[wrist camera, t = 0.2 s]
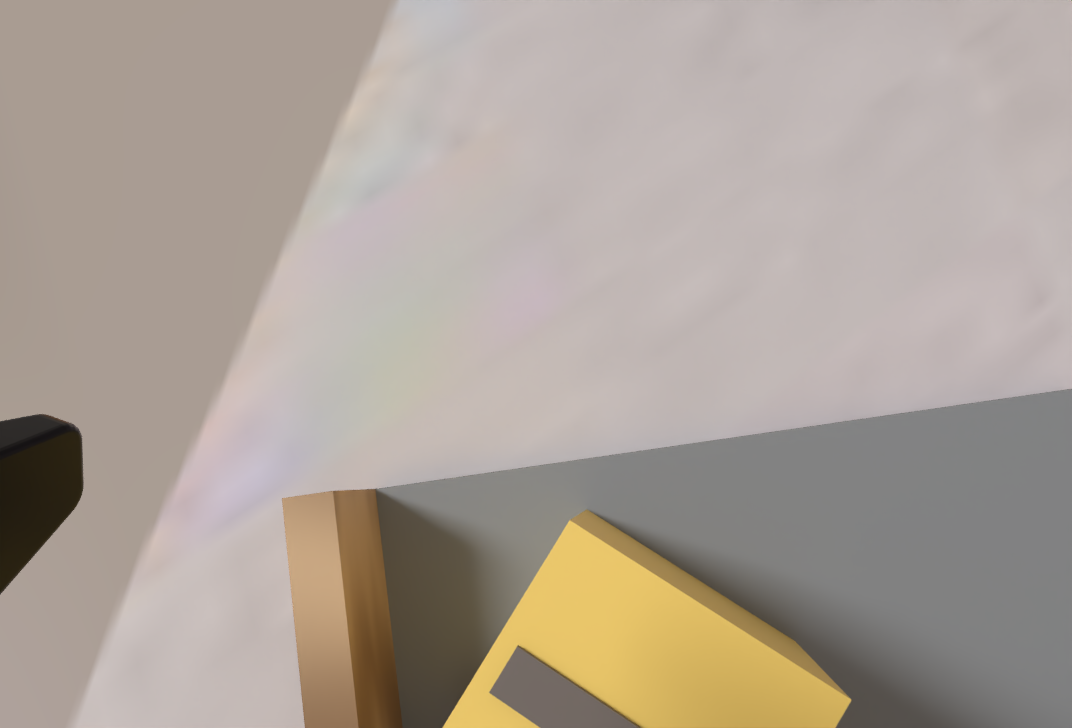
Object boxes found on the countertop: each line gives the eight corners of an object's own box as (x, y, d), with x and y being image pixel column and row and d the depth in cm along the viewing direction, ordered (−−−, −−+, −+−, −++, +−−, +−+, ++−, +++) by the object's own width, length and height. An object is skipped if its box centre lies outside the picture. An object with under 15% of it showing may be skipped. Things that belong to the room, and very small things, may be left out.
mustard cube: (795, 641, 22) (853, 701, 16) (668, 854, 22) (679, 997, 16) (586, 509, 23) (569, 520, 17) (462, 712, 23) (400, 796, 17)
